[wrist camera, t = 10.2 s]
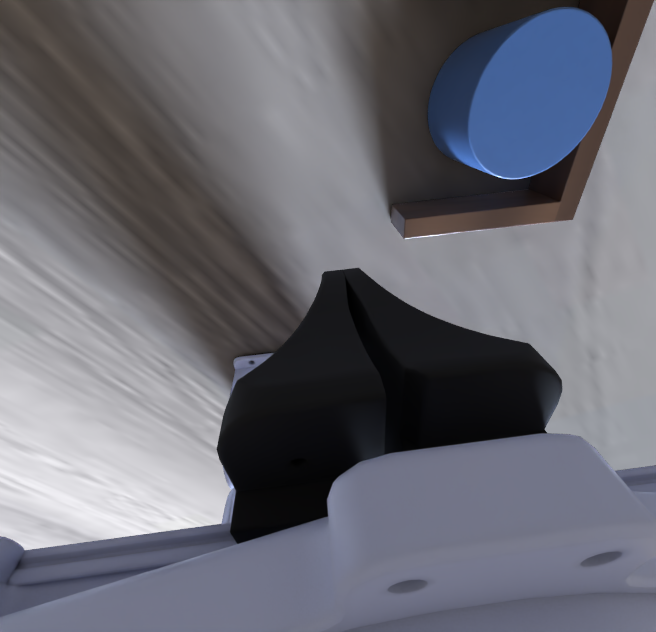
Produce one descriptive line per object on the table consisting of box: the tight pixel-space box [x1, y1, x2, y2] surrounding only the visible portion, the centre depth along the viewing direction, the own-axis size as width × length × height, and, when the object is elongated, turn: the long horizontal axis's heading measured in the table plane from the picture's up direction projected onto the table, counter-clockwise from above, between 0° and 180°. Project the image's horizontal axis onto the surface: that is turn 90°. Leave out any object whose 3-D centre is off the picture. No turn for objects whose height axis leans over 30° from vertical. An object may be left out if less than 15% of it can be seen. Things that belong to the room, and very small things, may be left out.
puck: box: [428, 7, 612, 179], centre depth 15 cm, size 6×6×5 cm
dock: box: [391, 0, 654, 239], centre depth 16 cm, size 10×12×3 cm
